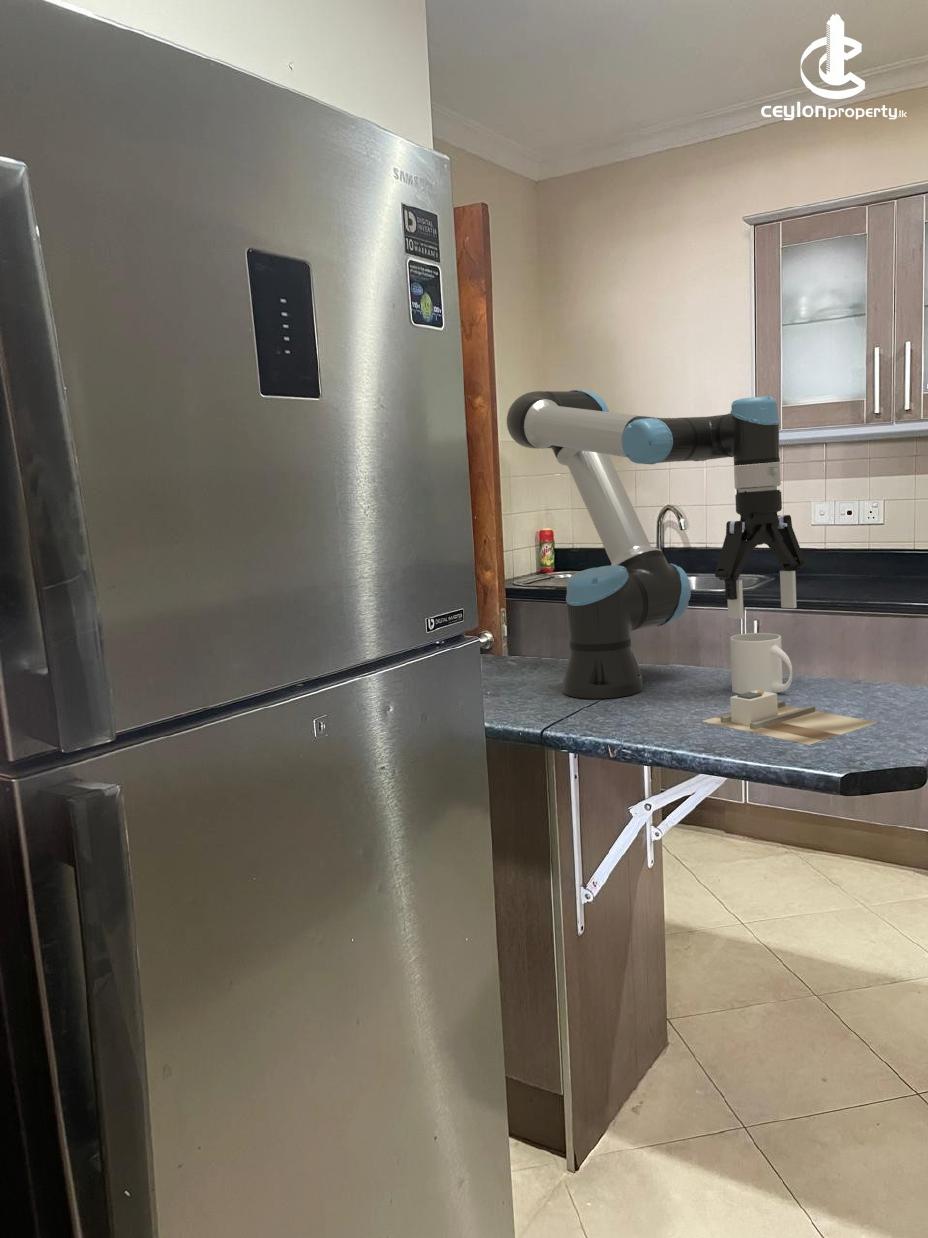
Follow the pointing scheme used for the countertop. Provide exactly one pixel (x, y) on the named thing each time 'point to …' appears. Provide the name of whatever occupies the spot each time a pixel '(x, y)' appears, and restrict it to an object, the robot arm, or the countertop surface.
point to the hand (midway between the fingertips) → (763, 613)
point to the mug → (758, 663)
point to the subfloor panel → (797, 724)
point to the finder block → (753, 707)
